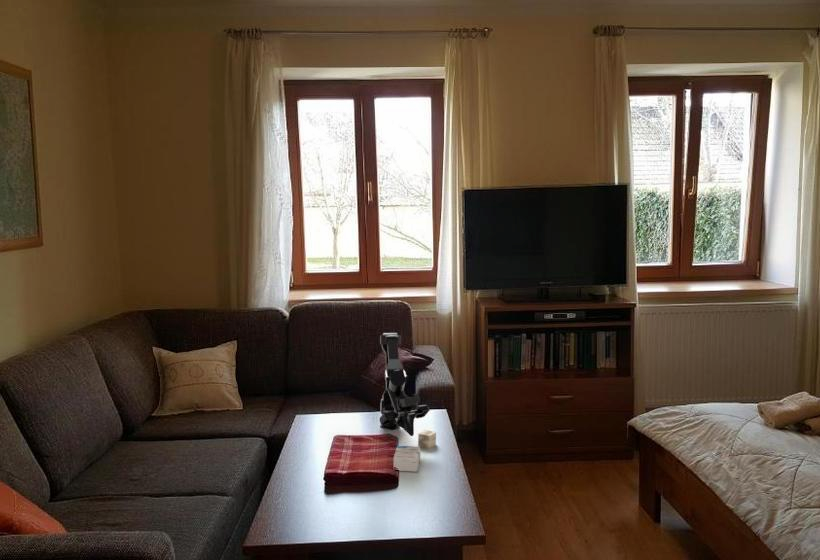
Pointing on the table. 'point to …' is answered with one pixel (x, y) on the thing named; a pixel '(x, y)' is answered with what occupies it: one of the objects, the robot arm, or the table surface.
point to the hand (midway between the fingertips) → (412, 435)
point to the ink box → (407, 458)
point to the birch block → (426, 438)
